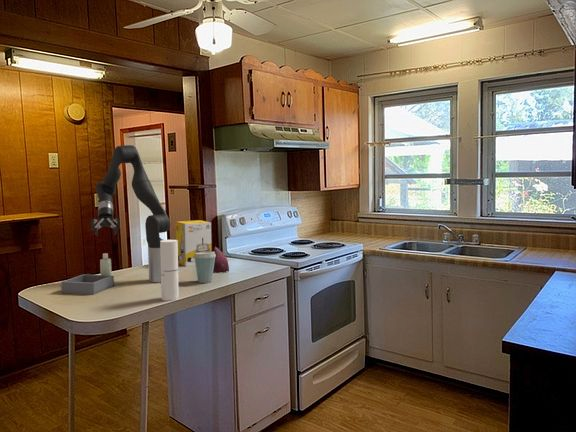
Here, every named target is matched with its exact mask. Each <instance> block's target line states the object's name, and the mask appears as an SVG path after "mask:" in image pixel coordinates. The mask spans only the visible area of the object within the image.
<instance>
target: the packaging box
mask: <svg viewBox="0 0 576 432" xmlns="http://www.w3.org/2000/svg"><path fill="white" fill-rule="evenodd" d="M174 223H175V240H177V241H178V265H181V266H183V267H186V268H187V267H194V266H195V267H196V264H195V257H194V255H195V254H196V253H200V252H212V221H205V220H199V219H198V220H197V219H195V220H182V221H181V220H179V221H175V222H174Z"/></svg>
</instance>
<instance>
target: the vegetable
mask: <svg viewBox="0 0 576 432" xmlns="http://www.w3.org/2000/svg"><path fill="white" fill-rule="evenodd" d="M213 252H215V254H216V257H215V262H214V269H213V273H215V272H216V273H217V274H218V272H222V273H227V272H226V271H228V272H229V271H230V266H229V262H228V259H227V257H226V255H225V254H224V253H223V252H222V251H221V250H220V249H219V248H218V247H217V246H215V247H214V248H213Z"/></svg>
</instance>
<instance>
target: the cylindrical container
mask: <svg viewBox="0 0 576 432" xmlns="http://www.w3.org/2000/svg"><path fill="white" fill-rule="evenodd" d="M160 254H161V282H160V284H161V285H160V286H161V287H160V288H161V289H160V290H161V301H167V302H169V301H176V300H178V299H179V297H180V296H179V294H180V293H179V292H180V291H179V263H178V241H177V240H176V239H163V240H162V241H160Z"/></svg>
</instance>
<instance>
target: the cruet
mask: <svg viewBox="0 0 576 432" xmlns="http://www.w3.org/2000/svg"><path fill="white" fill-rule="evenodd" d="M99 262H100V263H99V267H100V269H99V270H100V275H111V276H112V259H111V258H109V253H108V252H107V253H106V252H105V253H102V259H100V260H99Z"/></svg>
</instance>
